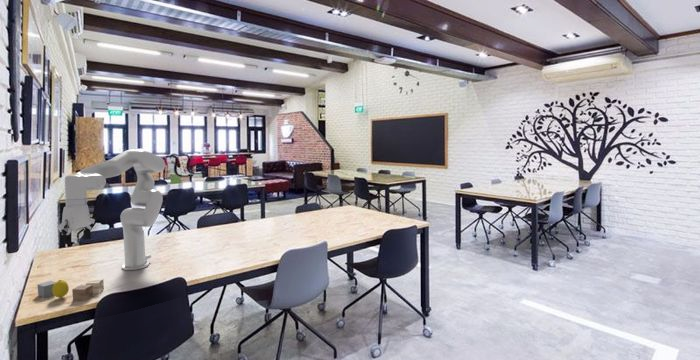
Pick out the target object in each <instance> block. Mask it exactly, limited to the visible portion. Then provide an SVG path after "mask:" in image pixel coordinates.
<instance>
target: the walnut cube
mask: <svg viewBox="0 0 700 360" xmlns="http://www.w3.org/2000/svg"><path fill="white" fill-rule="evenodd" d="M71 292H72V301H75V302H76V301H80V302H82V301H83V302H85V301H87V300H89V299H91V298H92V297H94V294H93V285H86V284H80V285H78V286H76V287H74V288H72V289H71Z"/></svg>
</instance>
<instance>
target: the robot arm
mask: <svg viewBox="0 0 700 360" xmlns="http://www.w3.org/2000/svg"><path fill="white" fill-rule="evenodd" d="M131 168H133V170H134V171H135V173H136V177H137V181H136V184H135V187H134V189H133V192H132V195H131V196H130V204H131V205H133V206H134V207H128V208H125V209H123V210H122V212H121V213H120V216H119V217H120V222H121V226H122V233H123V252H124V263H123V264H122V265H121V269H122V270H125V271H135V270H140V269H145V268H147V267H148V266H149V265H150V263H149V261H147V260H149V259H151V258H152V255H151V254H147V255H146V246H145V245H146V244H145V243H146V242H145V232H144V229H143V228H146V227H147V228H149V227H153V226H154V224H155V223H156V222H157V219H158V216H159V215H160V214H159V213H160V211H161V208H162V205H163V200H164V199H163V194H162V192H161V191H160V190H159V189H158V190H157V189H154V187H155V179H154V177H153V175H152V173H154V174H155V173H156V174H157V173H162V172H163V171H164V170H165V168H166V163H165V160H164V159H163V158H162V157H160V156H158V155H156V154H154V153H152V152H150V151H147V150H145V149H144V150H143V149H127V150H125V151H122V152H121V153H119V154H117V155H115V156H114V157H112V158H110V159H108V160H105V161H103V162H99V163H97V164H92V165H90V166H87V167H85V168H83V169H81V170H79V171H78V172H76V173H75V174H68V175H66V176H65V177H64V188H65V189H64V191H65V195H64V197H65V206H64V207H63V210H62V214H61V215H62V216H61V218H62V219H61V223H60V224H58V225H57V226H56V227H57V229H58V232H59V233H60V234H61V235H62V237H63V244H64V245H72V244H71V243H72V236H71V233H72V231H73V230H79V229H84V230H83V233H82V234H83V239H84V240H90V239H92V236H91V231H92V230H93V227H94V226H95V225H94V224H95V221H96V219H95V218H92V217H91V215H90V210H89V205H88V201H89V200H88V198H87V197H88V195H87V191H99V190H102V189H103V188H104V187H105V186H106V184H107V179H108V178H113V177H117V176H118V177H119V176H120V175H122V174H123V173H125V172H127V171H128V170H129V169H131Z"/></svg>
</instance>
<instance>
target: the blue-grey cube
mask: <svg viewBox="0 0 700 360" xmlns="http://www.w3.org/2000/svg"><path fill="white" fill-rule="evenodd" d="M56 282H57V281H54V280H49V281H44V282H42V283H39V284H37V295H38V297H42V298H44V299H45V298H48V297H52V296H54V295H53V293H52V287H53V285H54V283H56Z"/></svg>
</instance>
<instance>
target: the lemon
mask: <svg viewBox="0 0 700 360" xmlns="http://www.w3.org/2000/svg"><path fill="white" fill-rule="evenodd" d="M55 282H56V283H54V285H53V287H52V293H53V295H52V296H54V297H56V298H59V299H63V298H64V297H65V296H67V295H68V292H69V284H68V282H67V281H66V280H62V279H59V280H57V281H55Z"/></svg>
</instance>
